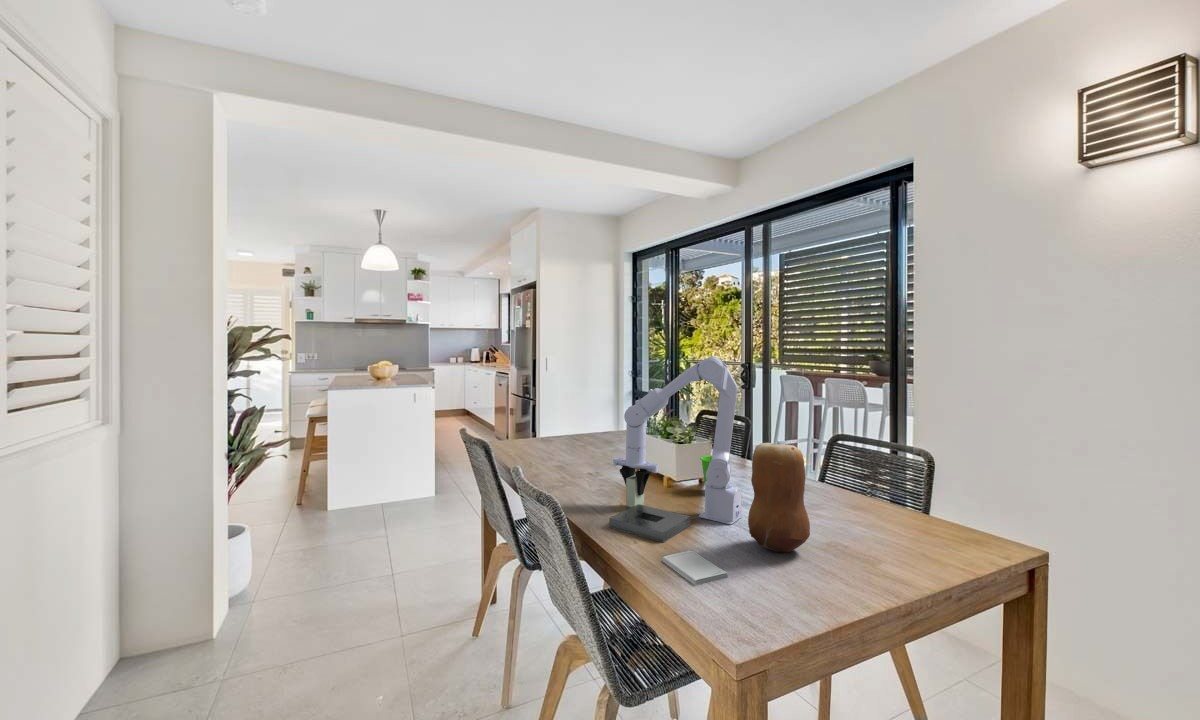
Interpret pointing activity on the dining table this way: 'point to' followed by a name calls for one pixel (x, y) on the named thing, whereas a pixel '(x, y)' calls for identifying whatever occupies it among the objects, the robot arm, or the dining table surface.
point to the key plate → (650, 522)
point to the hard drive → (694, 567)
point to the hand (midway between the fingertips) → (635, 493)
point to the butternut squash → (778, 498)
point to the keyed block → (633, 492)
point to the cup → (705, 464)
